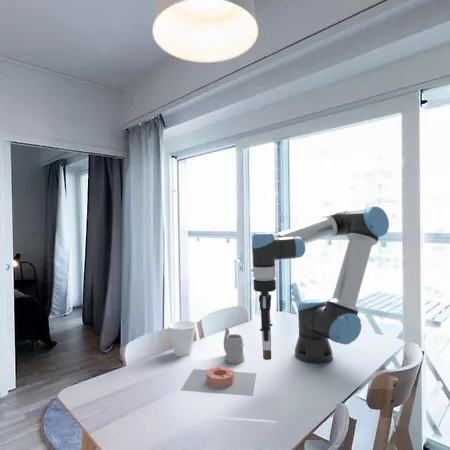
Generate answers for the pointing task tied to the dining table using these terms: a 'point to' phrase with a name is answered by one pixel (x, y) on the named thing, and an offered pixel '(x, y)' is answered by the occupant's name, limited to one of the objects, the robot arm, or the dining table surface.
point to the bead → (220, 377)
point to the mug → (233, 347)
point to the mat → (240, 386)
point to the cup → (182, 337)
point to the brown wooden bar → (267, 352)
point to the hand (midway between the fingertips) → (267, 347)
